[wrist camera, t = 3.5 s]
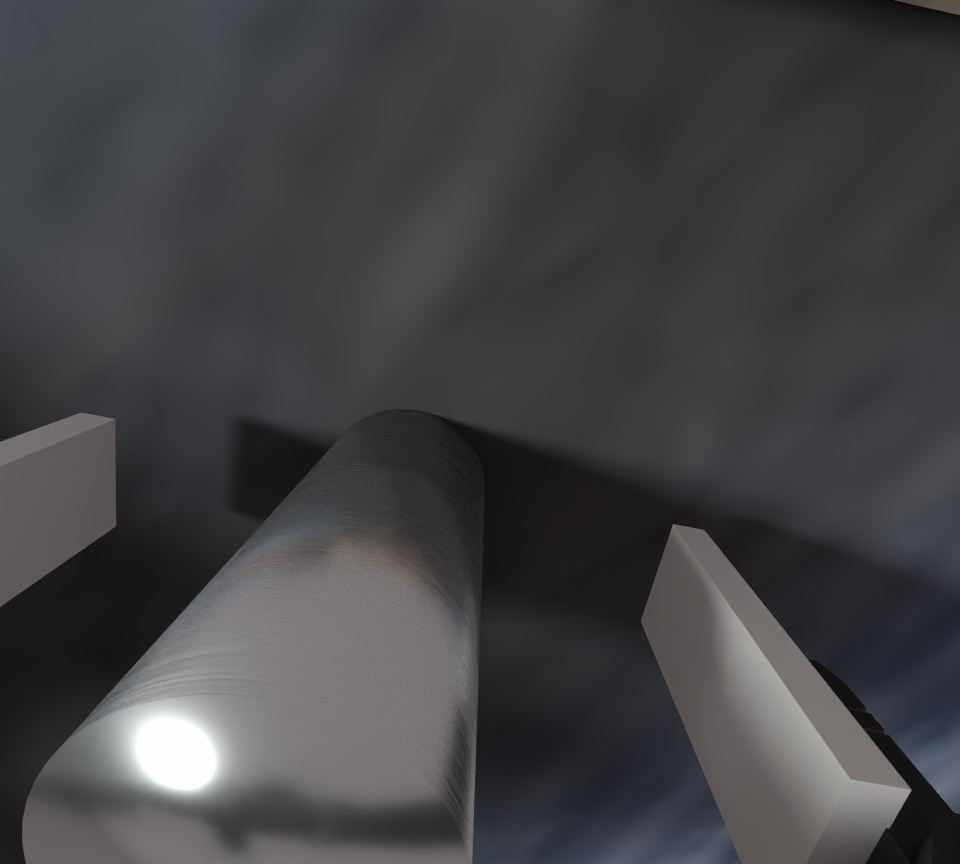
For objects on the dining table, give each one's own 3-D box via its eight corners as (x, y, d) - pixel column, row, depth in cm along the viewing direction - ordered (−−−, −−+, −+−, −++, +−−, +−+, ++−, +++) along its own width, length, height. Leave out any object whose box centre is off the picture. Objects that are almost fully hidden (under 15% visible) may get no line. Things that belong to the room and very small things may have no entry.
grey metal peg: (317, 542, 15) (33, 988, 6) (334, 394, 14) (8, 656, 5) (469, 569, 16) (431, 1047, 6) (499, 426, 14) (512, 743, 5)
